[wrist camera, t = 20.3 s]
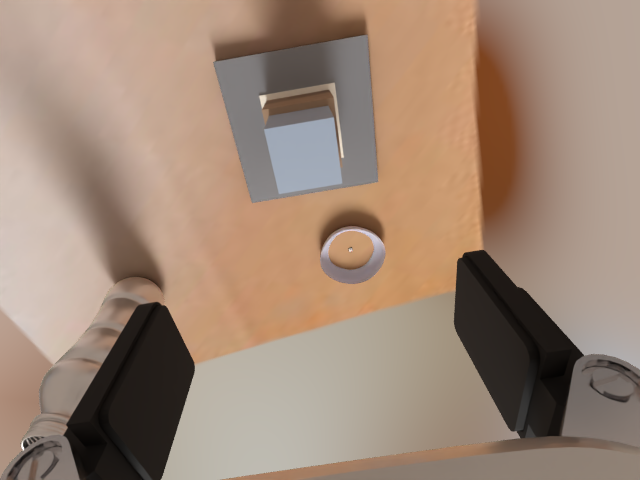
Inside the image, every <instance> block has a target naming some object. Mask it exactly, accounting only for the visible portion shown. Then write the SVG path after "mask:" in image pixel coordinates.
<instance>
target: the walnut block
mask: <svg viewBox="0 0 640 480" xmlns="http://www.w3.org/2000/svg"><path fill="white" fill-rule="evenodd" d="M323 106H329V108H330V110H331V112H332V114H333V117H334V122H335V130H336V138H337V146H338V153H339V161H340V168H341V167H343V166H342V158H341V150H340V142H339V135H338V127H337V119H336V111H335V104H334V97H333V95H332V94H331V92H330V91H329V90H323V91H318V92H312V93H307V94H301V95H295V96H290V97H284V98H278V99H273V100H267V101H266V102H265V104H264V106H263V108H262V113H263V118H264V122H265V125H266V122H267V120H268V117H269V116H271V115H277V114H282V113H288V112H294V111H300V110H305V109H311V108H317V107H323Z"/></svg>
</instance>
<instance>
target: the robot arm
mask: <svg viewBox="0 0 640 480" xmlns="http://www.w3.org/2000/svg"><path fill="white" fill-rule="evenodd" d="M454 325H455V329H456V332H457V334H458V336H459V338H460V340H461V341H462V343H463V345H464V347H465V349H466V350H467V352H468V354H469V356H470V358H471V360H472V361H473V364H474V365H475V367H476V369H477V371H478V373H479V375H480V376H481V378H482V380H483V382H484V384H485V385H486V387H487V389H488V391H489V393H490V395H491V397H492V398H493V400H494V402H495V404H496V406H497V408H498V409H499V411H500V413H501V415H502V417H503V419H504V421H505V422H506V424H507V426H508V428H509V429H510V430H511V431H517V433H518V434H519V436H520V439H512V440H503V441H494V442H486V443H479V444H470V445H461V446H454V447H446V448H440V449H432V450H425V451H417V452H410V453H403V454H396V455H389V456H382V457H374V458H367V459H361V460H353V461H346V462H339V463H333V464H325V465H318V466H311V467H304V468H297V469H290V470H284V471H277V472H270V473H263V474H256V475H249V476H242V477H236V478H229V479H222V480H640V370H639V369H638V368H636V367H634V366H633V365H631V364H629V363H628V362H625V361H623V360H621V359H618V358H616V357H611V356H607V355H599V354H591V355H587V356H584V355H583V354H582V352H580V350H579V349H578V348H577V347H576V346H575V345H574V344H573V343H572V341H571V340H570V339H569V338H568V337H567V336H566V335H565V334H564V333H563V332H562V331H561V329H560V328H559V327H558V326H557V325H556V324H555V323H554V322H553V321H552V319H551V318H550V317H549V316H548V315H547V314H546V313H545V312H544V311H543V309H542V308H541V307H540V306H539V305H538V304H537V303H536V302H535V301H534V300H533V299H532V297H531V296H530V295H529V294H528V293H527V292H526V291H525V290H524V289H522V288H519V287H517V286H516V285H515V284H514V283H513V282H512V281H511V280H510V278H509V277H508V276H507V275H506V274H505V273H504V272H503V271H502V269H501V268H500V267H499V266H498V265H497V264H496V263H495V262H494V260H493V259H492V258H491V257H490V256H489V255H488V254H487V252H486V251H484V250H479V251H473V252H466V253H464V254H463V257H462V258H459V259H458V261H457V277H456V296H455V313H454ZM194 371H195V365H194V361H193V359H192V357H191V355H190V353H189V351H188V349H187V347H186V345H185V343H184V341H183V339H182V337H181V335H180V333H179V331H178V329H177V327H176V325H175V323H174V321H173V318H172V316H171V314H170V312H169V310H168V308H167V307H166V306H165V305H161V304H160V303H159V302H152V303H146V304H140V305H138V306H137V307H136V309H135V310H134V312H133V314H132V315H131V317H130V319H129V320H128V322H127V324H126V325H125V327H124V329H123V330H122V332H121V334H120V335H119V337H118V339H117V340H116V342H115V344H114V345H113V347H112V349H111V350H110V352H109V354H108V355H107V357H106V359H105V360H104V362H103V364H102V365H101V367H100V369H99V370H98V372H97V374H96V375H95V377H94V379H93V380H92V382H91V384H90V385H89V387H88V389H87V390H86V392H85V394H84V395H83V397H82V399H81V400H80V402H79V404H78V405H77V407H76V409H75V410H74V412H73V414H72V415H71V417H70V419H69V420H68V422H67V424H66V426H67V427H68V428H67V430H66V431H65V433H64V435H63V436H62V435H50V436H47V437H44V438H41V439H40V440H38V441H36V442H34V443H32V444H31V445H29V446H28V447H27V448H25V449H24V450H23V451H21V452H20V453H19V454H18V455H17V456H16V457H15V458H14V459H13V460H12V461H11V463H10V464H9V465H8V466H7V468H6V469H5V471H4V472H3V474H2V476H1V478H0V480H161V478H162V476H163V473H164V469H165V466H166V463H167V460H168V456H169V453H170V450H171V447H172V443H173V440H174V437H175V434H176V431H177V427H178V424H179V421H180V418H181V414H182V411H183V408H184V405H185V401H186V398H187V395H188V392H189V388H190V385H191V382H192V378H193V375H194Z"/></svg>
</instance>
